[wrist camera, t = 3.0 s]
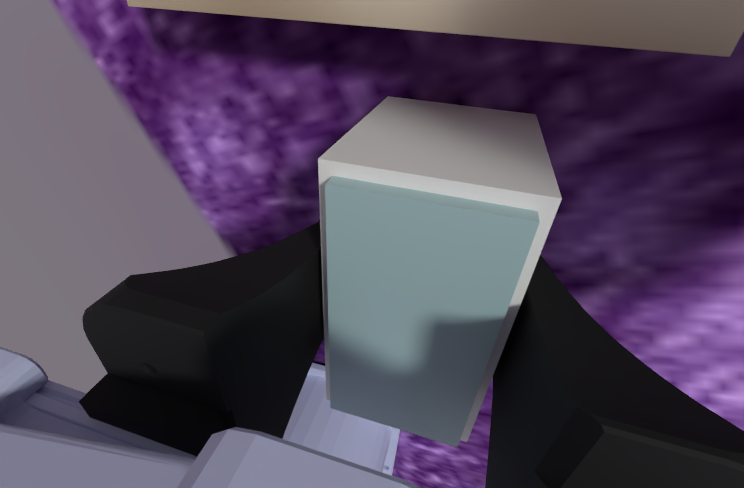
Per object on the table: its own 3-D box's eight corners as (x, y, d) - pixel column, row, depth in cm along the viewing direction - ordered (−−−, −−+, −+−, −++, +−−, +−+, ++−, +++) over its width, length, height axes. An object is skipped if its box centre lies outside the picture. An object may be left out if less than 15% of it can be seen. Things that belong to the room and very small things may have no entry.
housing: (476, 311, 15) (465, 455, 10) (374, 287, 16) (321, 410, 11) (535, 113, 11) (565, 209, 6) (388, 95, 11) (309, 166, 7)
